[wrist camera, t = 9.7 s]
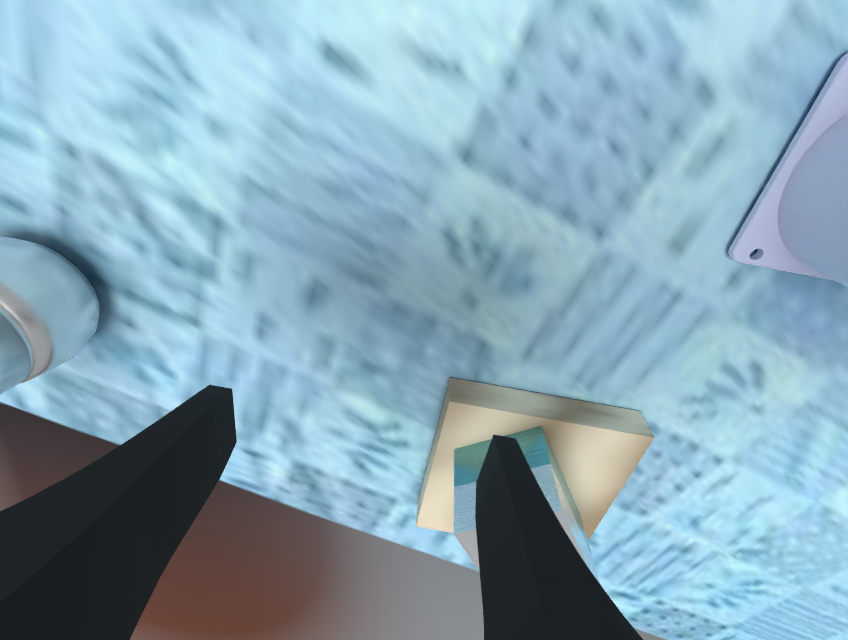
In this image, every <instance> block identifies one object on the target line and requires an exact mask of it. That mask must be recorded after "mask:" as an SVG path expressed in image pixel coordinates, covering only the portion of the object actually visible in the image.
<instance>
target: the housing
mask: <svg viewBox="0 0 848 640" xmlns="http://www.w3.org/2000/svg"><path fill="white" fill-rule="evenodd" d="M505 437H511V438H515V439H516V440H517V441H518V443H519V445H520V447H521V450H522V452H523V454H524V456H525V458H526V460H527V462H528V464H529V466H530V468H531V470H532V472H533V474H534V476H535V478H536V480H537V482H538V484H539V486H540V488H541V490H542V492H543V493H544V495H545V497H546V499H547V501H548V502H549V504H550V506H551V508H552V510H553V511H554V513H555V515H556V517H557V518H558V520H559V522H560V524H561V525H562V527H563V529H564V530H565V532H566V534H567V535H568V537H569V538H570V540H571V542H572V543H573V545H574V546H575V548H576V550H577V551H578V553H579V554H580V556H581V557H582V559H583V560H584V562H585V563H586V565H587V566H588V568H589V569H590V571H591V572H592V574H593V575H594V576H595V578H596V579H597V581H598V582H599V580H598V576H597V572H596V569H595V565H594V562H593V558H592V554H591V551H590V547H589V544H588V540H587V537H586V533H585V529H584V526H583V522H582V519H581V515H580V513H579V510H578V508H577V506H576V504H575V501H574V499H573V497H572V494H571V492H570V490H569V487H568V485H567V483H566V481H565V478H564V476H563V474H562V471H561V469H560V467H559V464H558V462H557V460H556V458H555V455H554V453H553V451H552V448H551V446H550V444H549V441H548V439H547V437H546V435H545V432H544V430H543V428H542V426H538V427H534V428H531V429H527V430H523V431H520V432H516V433H512V434H509V435H505ZM491 440H492V439H490V440H486V441H483V442H479V443H475V444H471V445H468V446H464V447H460V448H457V449H454V535H455V536H456V538H457V539H458V541H459V542H460V544H461V545H462V547H463V548H464V549H465V551H466V552H467V554H468V555H469V557H470V558H471V560H472V561H473V563H474V564H475V566H476V567H477V568H478V570H479V571H480V569H479V557H478V546H477V535H476V522H475V505H476V482H477V479H478V476H479V473H480V471H481V468H482V465H483V462H484V459H485V457H486V454H487V451H488V448H489V446H490V443H491ZM599 584H600V583H599Z"/></svg>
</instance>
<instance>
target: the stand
mask: <svg viewBox="0 0 848 640" xmlns="http://www.w3.org/2000/svg"><path fill="white" fill-rule="evenodd" d="M538 426H542V428H543V430H544V432H545V435H546V437H547V439H548V441H549V444H550V446H551V448H552V451H553V453H554V455H555V458H556V460H557V462H558V464H559V467H560V469H561V471H562V474H563V476H564V478H565V481H566V483H567V485H568V487H569V490H570V492H571V494H572V497H573V499H574V501H575V504H576V506H577V508H578V510H579V513H580V515H581V519H582V522H583V526H584V529H585V533H586V537H587V540H589V538H590V537H591V535H592V534H593V532H594V531H595V529H596V527H597V526H598V524H599V523H600V521H601V520H602V518H603V517H604V515H605V514H606V512H607V510H608V509H609V507H610V506H611V504H612V503H613V501H614V500H615V498H616V497H617V495H618V493H619V492H620V490H621V489H622V487H623V486H624V484H625V483H626V481H627V479H628V478H629V476H630V475H631V473H632V472H633V470H634V469H635V467H636V466H637V464H638V462H639V461H640V459H641V458H642V456H643V455H644V453H645V452H646V450H647V449H648V447H649V445H650V444H651V442H652V441H653V439H654V436H653V434H652V432H651V430H650V429H649V427H648V425H647V423H646V421H645V419H644V417H643V416H642V414H641V412H640V411H636V410H630V409H625V408H619V407H613V406H608V405H602V404H596V403H591V402H585V401H580V400H574V399H568V398H563V397H557V396H552V395H546V394H540V393H535V392H529V391H523V390H518V389H512V388H507V387H501V386H495V385H490V384H484V383H478V382H473V381H467V380H462V379H456V378H450V379H449V383H448V387H447V391H446V394H445V398H444V402H443V406H442V410H441V414H440V417H439V421H438V425H437V429H436V433H435V437H434V441H433V444H432V448H431V452H430V456H429V460H428V464H427V467H426V471H425V475H424V479H423V483H422V487H421V491H420V494H419V498H418V507H417V518H416V527H421V528H427V529H433V530H439V531H445V532H451V533H454V449H457V448H460V447H464V446H468V445H471V444H475V443H479V442H483V441H486V440H490V439H492V437H493V435H500V436H505V435H509V434H512V433H516V432H520V431H523V430H527V429H531V428H534V427H538Z"/></svg>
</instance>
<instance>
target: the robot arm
mask: <svg viewBox="0 0 848 640" xmlns="http://www.w3.org/2000/svg"><path fill="white" fill-rule="evenodd" d="M755 249H758V250H757V253H756V254H755V255H753V256H750V254H751V252H752V251H753V250H755ZM728 253H729V256H730V258H731V259H733V260H734V261H736V262H739V263H744V264H750V265H755V266H760V267H765V268H771V269H776V270H781V271H786V272H792V273H797V274H802V275H807V276H813V277H818V278H823V279H829V280H834V281H837V282H839V283H840V284H842V285H844V286H846V287H848V53H847V54H845V55H844V56H843V57H842V58H841V59H840V60H839V62H838V63H837V64H836V66H835V68H834V70H833V71H832V73H831V75H830V76H829V78H828V80H827V82H826V83H825V85H824V87H823V88H822V90H821V92H820V94H819V95H818V97H817V99H816V100H815V102H814V104H813V106H812V107H811V109H810V111H809V112H808V114H807V116H806V118H805V119H804V121H803V123H802V124H801V126H800V128H799V130H798V131H797V133H796V135H795V136H794V138H793V140H792V142H791V143H790V145H789V147H788V148H787V150H786V152H785V154H784V155H783V157H782V159H781V160H780V162H779V164H778V166H777V167H776V169H775V171H774V172H773V174H772V176H771V178H770V179H769V181H768V183H767V184H766V186H765V188H764V190H763V191H762V193H761V195H760V196H759V198H758V200H757V202H756V203H755V205H754V207H753V208H752V210H751V212H750V214H749V215H748V217H747V219H746V220H745V222H744V224H743V226H742V227H741V229H740V231H739V232H738V234H737V236H736V238H735V239H734V241H733V243H732V244H731V246H730V248H729V251H728ZM236 442H237V440H236V429H235V417H234V406H233V395H232V389H230V388H224V387H219V386H213V385H209V386H207V387H206V388H204V389H203V390H201V391H200V392H198V393H197V394H195V395H194V396H192V397H191V398H190V399H188V400H187V401H185V402H184V403H182V404H181V405H180V406H178V407H177V408H175V409H174V410H172V411H171V412H170V413H168V414H167V415H165V416H164V417H162V418H161V419H159V420H158V421H156V422H155V423H153V424H152V425H150V426H149V427H147V428H146V429H145V430H143V431H142V432H140V433H139V434H137V435H136V436H134V437H133V438H131V439H130V440H128V441H126V442H125V443H123V444H122V445H120V446H118V447H117V448H115V449H114V450H112V451H110V452H109V453H107V454H106V455H104V456H102V457H101V458H99V459H97V460H96V461H94V462H93V463H91V464H90V465H88V466H86V467H84V468H83V469H81V470H79V471H77V472H76V473H74V474H72V475H70V476H69V477H67V478H65V479H63V480H61V481H60V482H58V483H56V484H54V485H52V486H50V487H48V488H46V489H45V490H43V491H41V492H39V493H37V494H35V495H33V496H31V497H29V498H27V499H25V500H23V501H21V502H19V503H17V504H15V505H13V506H11V507H9V508H7V509H5V510H3V511H0V640H130V637H131V635H132V633H133V631H134V629H135V627H136V625H137V623H138V621H139V619H140V617H141V614H142V612H143V611H144V609H145V607H146V605H147V603H148V601H149V599H150V597H151V595H152V593H153V591H154V589H155V587H156V585H157V583H158V581H159V578H160V577H161V575H162V573H163V571H164V569H165V568H166V566H167V564H168V562H169V561H170V559H171V557H172V555H173V554H174V552H175V551H176V549H177V547H178V546H179V544H180V543H181V541H182V539H183V538H184V536H185V534H186V533H187V531H188V529H189V528H190V526H191V525H192V523H193V521H194V520H195V518H196V517H197V515H198V513H199V512H200V510H201V508H202V507H203V505H204V504H205V502H206V500H207V499H208V497H209V495H210V494H211V492H212V490H213V489H214V487H215V485H216V484H217V482H218V480H219V479H220V477H221V475H222V473H223V471H224V469H225V466H226V464H227V462H228V460H229V458H230V456H231V453H232V451H233V449H234V447H235V444H236ZM475 522H476V535H477V546H478V557H479V569H480V579H481V591H482V601H483V616H484V640H643V639H642V638H641V637H640V636H639V634H638V633H637V632H636V631H635V629H634V628H633V627H632V626H631V624H630V623H629V622H628V621H627V619H626V618H625V617H624V616H623V615H622V613H621V612H620V611H619V609H618V608H617V607H616V605H615V604H614V603H613V601H612V600H611V599H610V597H609V596H608V595H607V593H606V592H605V591H604V589H603V588H602V586H601V585H600V584H599V582H598V581H597V579H596V578H595V576H594V575H593V574H592V572H591V571H590V569H589V568H588V566H587V565H586V563H585V562H584V560H583V559H582V557H581V556H580V554H579V553H578V551H577V550H576V548H575V546H574V545H573V543H572V542H571V540H570V538H569V537H568V535H567V534H566V532H565V530H564V529H563V527H562V525H561V524H560V522H559V520H558V518H557V517H556V515H555V513H554V511H553V510H552V508H551V506H550V504H549V502H548V501H547V499H546V497H545V495H544V493H543V492H542V490H541V488H540V486H539V484H538V482H537V480H536V478H535V476H534V474H533V472H532V470H531V468H530V466H529V464H528V462H527V460H526V458H525V456H524V454H523V452H522V450H521V447H520V445H519V443H518V441H517V440H516V439H515V438H511V437H505V436H500V435H493V437H492V440H491V443H490V446H489V448H488V451H487V454H486V457H485V459H484V462H483V465H482V468H481V471H480V473H479V476H478V479H477V482H476V505H475Z"/></svg>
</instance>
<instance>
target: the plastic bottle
mask: <svg viewBox="0 0 848 640" xmlns="http://www.w3.org/2000/svg"><path fill="white" fill-rule="evenodd" d="M99 310H100V308H99V301H98V298H97V295H96V293H95V290H94V289H93V287H92V285H91V284H90V282H89V281H88V279H87V278H86V277H85V276H84V274H83V273H82V272H81V271H80V270H79V269H78V268H77V267H76V266H75V265H74V264H72V263H71V262H70V261H69V260H67V259H66V258H65V257H63V256H62V255H60V254H58V253H57V252H55V251H54V250H52V249H49V248H47V247H45V246H43V245H40V244H37V243H33V242H30V241H25V240H21V239H16V238H10V237H3V236H0V394H2V393H4V392H5V391H7V390H9V389H11V388H12V387H14V386H16V385H17V384H19V383H23V382H26V381H28V380H30V379H32V378H35V377H37V376H39V375H41V374H43V373H45V372H47V371H49V370H50V369H52V368H54V367H56V366H58V365H60V364H61V363H63V362H65V361H67V360H69V359H71V358H73V357H74V355H75V354H76V353H77V352H78V351H79V350H80V349H81V348H82V347H83V346H84V345H85V344H86V343H87V342H88V341H89V339H90V338H91V337H92V336H93V335H94V334H95V332H96V329H97V327H98V319H99Z"/></svg>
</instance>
